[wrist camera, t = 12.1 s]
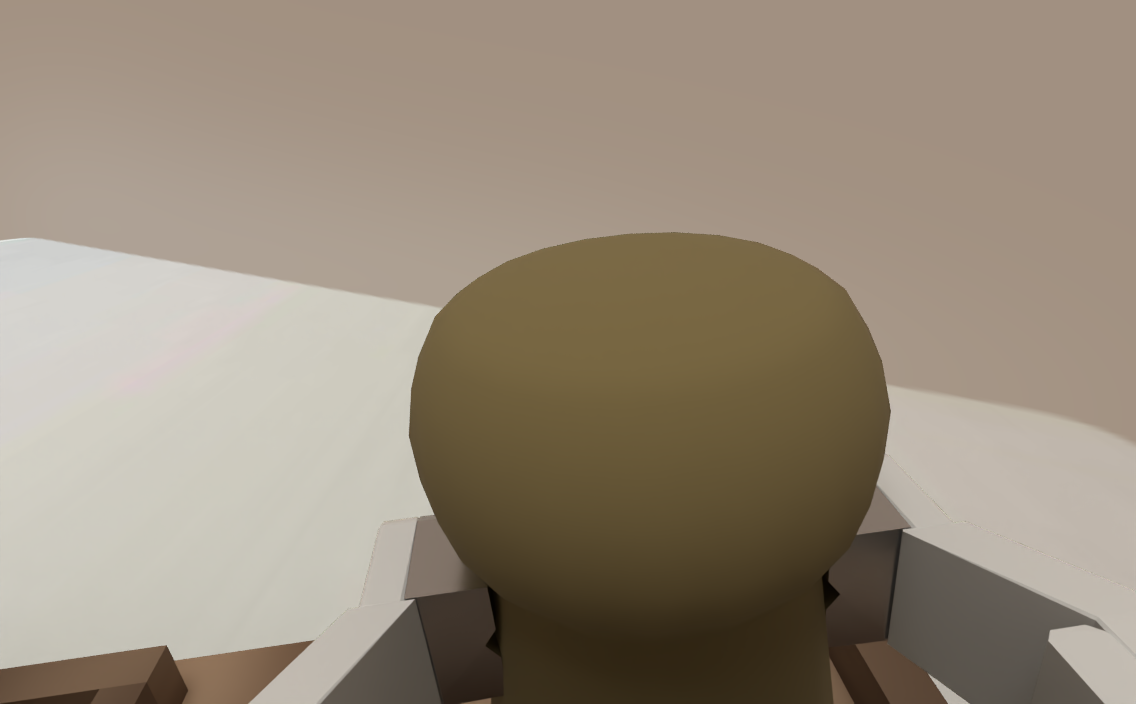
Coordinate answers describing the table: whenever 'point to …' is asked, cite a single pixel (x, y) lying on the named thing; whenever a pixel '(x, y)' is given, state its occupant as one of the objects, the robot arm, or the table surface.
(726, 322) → the cork
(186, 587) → the table surface
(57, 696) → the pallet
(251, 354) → the table surface
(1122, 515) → the table surface
